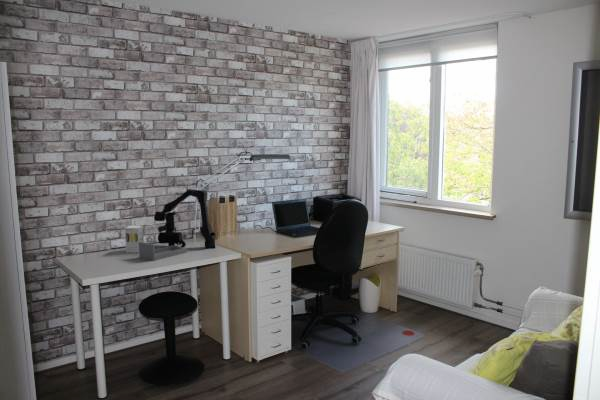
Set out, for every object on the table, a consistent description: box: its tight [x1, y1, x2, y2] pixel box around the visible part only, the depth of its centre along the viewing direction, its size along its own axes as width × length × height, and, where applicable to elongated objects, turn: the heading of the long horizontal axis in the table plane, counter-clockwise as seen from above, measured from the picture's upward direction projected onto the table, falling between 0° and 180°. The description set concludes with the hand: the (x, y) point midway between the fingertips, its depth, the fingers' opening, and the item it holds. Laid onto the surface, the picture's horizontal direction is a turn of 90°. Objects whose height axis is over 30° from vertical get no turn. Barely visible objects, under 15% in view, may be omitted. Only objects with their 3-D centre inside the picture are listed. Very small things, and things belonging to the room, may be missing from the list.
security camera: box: [157, 231, 187, 248], centre depth 342 cm, size 7×18×10 cm, turn 89°
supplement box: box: [124, 225, 145, 254], centre depth 331 cm, size 10×9×17 cm
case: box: [139, 242, 188, 262], centre depth 319 cm, size 27×14×10 cm, turn 144°
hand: (171, 243), depth 343 cm, fingers closed on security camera, 7 cm apart
